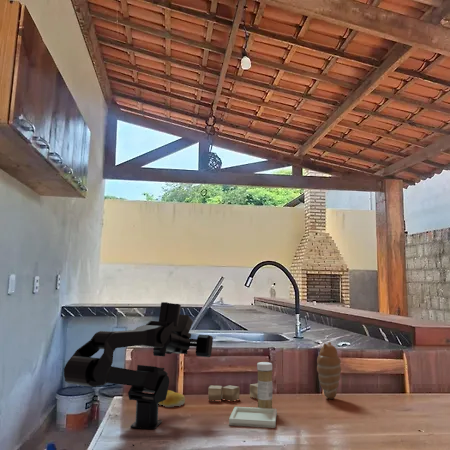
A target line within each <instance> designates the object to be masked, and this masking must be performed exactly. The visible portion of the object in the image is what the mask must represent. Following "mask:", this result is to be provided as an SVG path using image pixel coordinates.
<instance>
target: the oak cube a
mask: <svg viewBox="0 0 450 450" xmlns="http://www.w3.org/2000/svg"><path fill="white" fill-rule="evenodd" d="M222 387H223V385H209V386H208V394H207V395H208V396H207V397H208V398H207V399H209V400H221V399H222ZM221 401H222V400H221Z"/></svg>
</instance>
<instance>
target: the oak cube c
mask: <svg viewBox="0 0 450 450" xmlns="http://www.w3.org/2000/svg"><path fill="white" fill-rule="evenodd" d="M252 397H253V398H252ZM249 398H252V399H255V398H256V399H255V400H258V382H257V383H252V384H251V383H250V384H249Z"/></svg>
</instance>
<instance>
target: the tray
mask: <svg viewBox="0 0 450 450" xmlns="http://www.w3.org/2000/svg"><path fill="white" fill-rule="evenodd" d="M272 408H273V407H272ZM272 408H258V407H252V406H251V407H249V406H234V408H233V410H232V412H231V414H230V416H229V419H228V426H236V427H238V426H239V427H254V428H267V429H268V428H270V429H271V428H272V429H276V427H277V426H276V425H277V417H278V416H277V414H278V413H277V408H273V409H272Z"/></svg>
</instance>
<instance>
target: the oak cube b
mask: <svg viewBox="0 0 450 450" xmlns="http://www.w3.org/2000/svg"><path fill="white" fill-rule="evenodd" d="M222 399H225V400H230V401H234V400H237V399H239V400H240V386H236V385H230V384H229V385H226V386H222ZM230 401H229V402H230ZM237 401H238V400H237ZM234 402H235V401H234Z"/></svg>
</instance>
